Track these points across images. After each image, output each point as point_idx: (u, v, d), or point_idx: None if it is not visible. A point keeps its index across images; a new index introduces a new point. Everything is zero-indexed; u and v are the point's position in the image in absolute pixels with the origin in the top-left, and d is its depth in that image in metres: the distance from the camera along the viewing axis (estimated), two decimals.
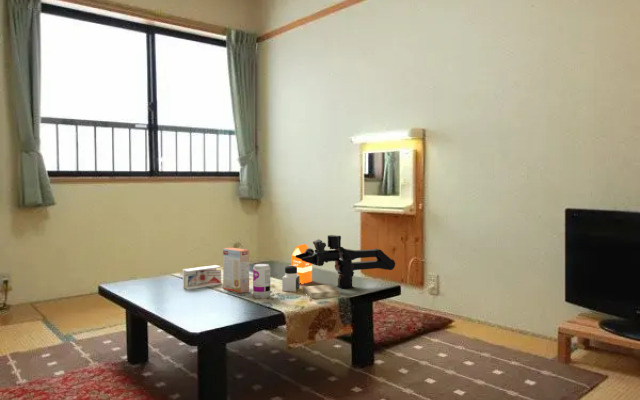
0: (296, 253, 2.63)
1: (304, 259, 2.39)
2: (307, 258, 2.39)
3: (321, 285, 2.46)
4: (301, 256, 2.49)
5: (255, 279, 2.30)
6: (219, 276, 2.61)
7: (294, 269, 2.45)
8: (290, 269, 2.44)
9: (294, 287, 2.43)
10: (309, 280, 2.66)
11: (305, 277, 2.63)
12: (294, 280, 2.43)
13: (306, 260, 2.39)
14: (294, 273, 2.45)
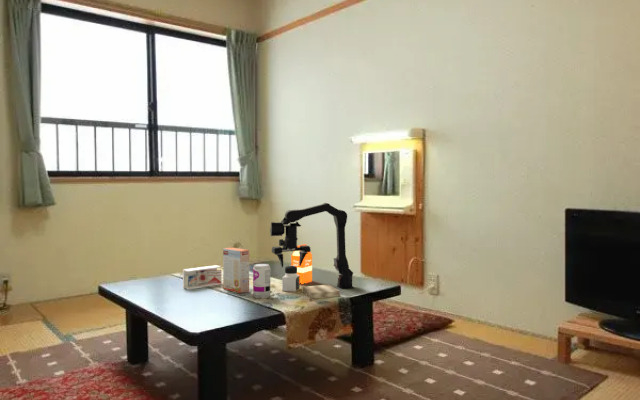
0: (296, 253, 2.63)
1: (281, 264, 2.45)
2: (280, 261, 2.45)
3: (321, 285, 2.46)
4: (300, 260, 2.48)
5: (255, 279, 2.30)
6: (219, 276, 2.61)
7: (294, 269, 2.45)
8: (290, 269, 2.44)
9: (294, 287, 2.43)
10: (309, 280, 2.66)
11: (305, 277, 2.63)
12: (294, 280, 2.43)
13: (281, 262, 2.44)
14: (294, 273, 2.45)
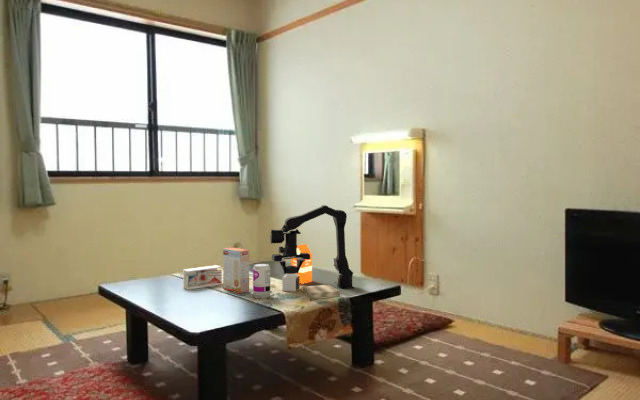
0: None
1: (283, 271, 2.46)
2: (282, 268, 2.46)
3: (321, 285, 2.46)
4: (297, 267, 2.48)
5: (255, 279, 2.30)
6: (220, 276, 2.61)
7: (294, 269, 2.45)
8: (290, 269, 2.44)
9: (294, 287, 2.43)
10: (309, 280, 2.66)
11: (305, 277, 2.63)
12: (294, 280, 2.43)
13: (283, 270, 2.45)
14: (294, 273, 2.45)
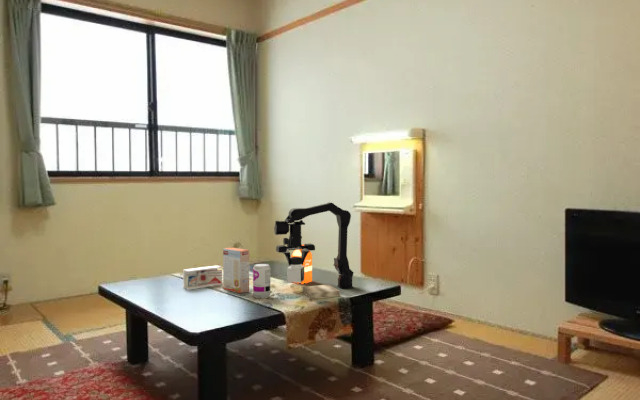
0: (296, 253, 2.63)
1: (288, 263, 2.44)
2: (287, 260, 2.44)
3: (321, 285, 2.46)
4: None
5: (255, 279, 2.30)
6: (220, 276, 2.60)
7: (299, 260, 2.43)
8: (295, 260, 2.42)
9: (299, 278, 2.42)
10: (309, 280, 2.66)
11: (305, 277, 2.63)
12: (299, 271, 2.42)
13: (288, 261, 2.43)
14: (299, 264, 2.43)
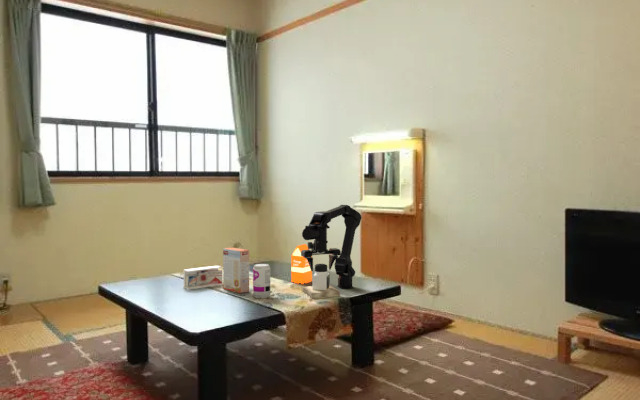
0: (296, 253, 2.63)
1: (310, 268, 2.37)
2: (309, 265, 2.37)
3: None
4: (329, 263, 2.40)
5: (255, 279, 2.30)
6: (220, 276, 2.60)
7: (324, 267, 2.36)
8: (320, 267, 2.36)
9: (325, 286, 2.35)
10: (309, 280, 2.66)
11: (305, 277, 2.63)
12: (325, 279, 2.35)
13: (310, 266, 2.36)
14: (324, 271, 2.36)
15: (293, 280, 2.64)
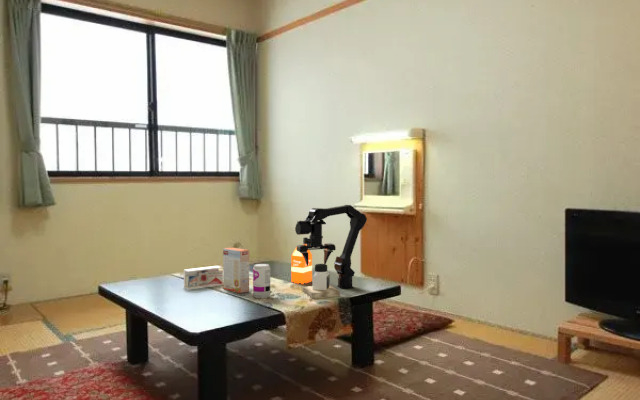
0: (296, 253, 2.63)
1: (306, 262, 2.43)
2: (305, 260, 2.43)
3: None
4: (324, 258, 2.46)
5: (255, 279, 2.30)
6: (221, 277, 2.59)
7: (324, 267, 2.36)
8: (320, 267, 2.36)
9: (325, 286, 2.35)
10: (309, 280, 2.66)
11: (305, 277, 2.63)
12: (325, 279, 2.35)
13: (306, 261, 2.42)
14: (324, 271, 2.36)
15: (293, 280, 2.64)
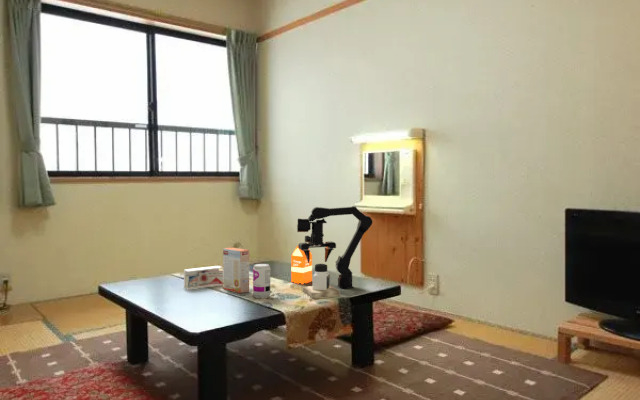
0: (296, 253, 2.63)
1: (307, 260, 2.50)
2: (306, 257, 2.50)
3: None
4: (325, 256, 2.53)
5: (255, 279, 2.30)
6: (221, 277, 2.59)
7: (324, 267, 2.36)
8: (320, 267, 2.36)
9: (325, 286, 2.35)
10: (309, 280, 2.66)
11: (305, 277, 2.63)
12: (325, 279, 2.35)
13: (307, 258, 2.49)
14: (324, 271, 2.36)
15: (293, 280, 2.64)
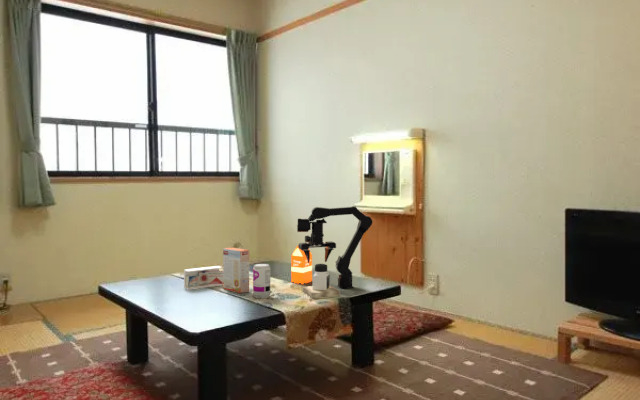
0: (296, 253, 2.63)
1: (307, 260, 2.50)
2: (306, 257, 2.50)
3: None
4: (325, 256, 2.53)
5: (255, 279, 2.30)
6: (221, 277, 2.59)
7: (324, 267, 2.36)
8: (320, 267, 2.36)
9: (325, 286, 2.35)
10: (309, 280, 2.66)
11: (305, 277, 2.63)
12: (325, 279, 2.35)
13: (307, 258, 2.49)
14: (324, 271, 2.36)
15: (293, 280, 2.64)
